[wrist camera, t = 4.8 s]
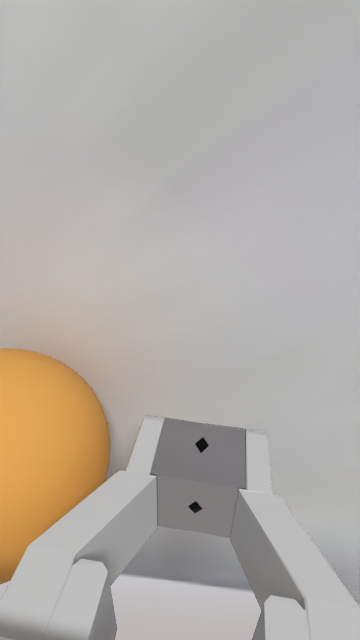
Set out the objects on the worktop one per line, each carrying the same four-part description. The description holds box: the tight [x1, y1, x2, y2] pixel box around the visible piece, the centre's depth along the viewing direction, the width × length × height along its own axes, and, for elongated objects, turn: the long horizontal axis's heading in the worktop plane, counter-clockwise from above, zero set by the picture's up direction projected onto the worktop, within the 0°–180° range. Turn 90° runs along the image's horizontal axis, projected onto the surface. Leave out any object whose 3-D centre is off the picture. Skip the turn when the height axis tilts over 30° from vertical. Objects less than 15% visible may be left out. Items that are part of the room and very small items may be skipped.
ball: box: [0, 349, 110, 584], centre depth 9 cm, size 6×6×6 cm
